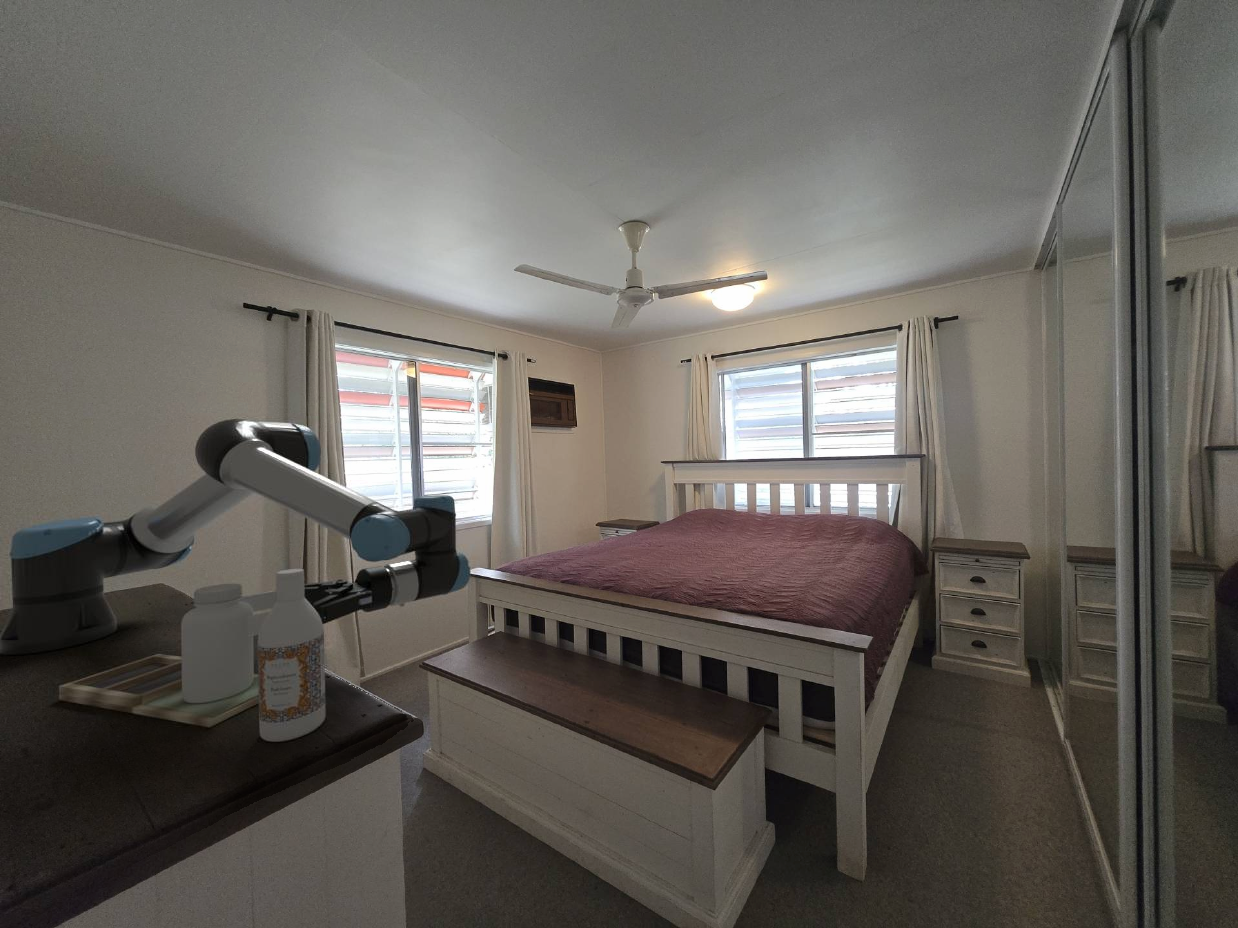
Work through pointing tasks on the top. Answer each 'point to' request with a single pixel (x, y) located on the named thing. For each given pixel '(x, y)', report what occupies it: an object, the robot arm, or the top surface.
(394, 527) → the robot arm
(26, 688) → the top surface
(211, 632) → the pill bottle
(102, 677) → the tray
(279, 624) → the bath foam
